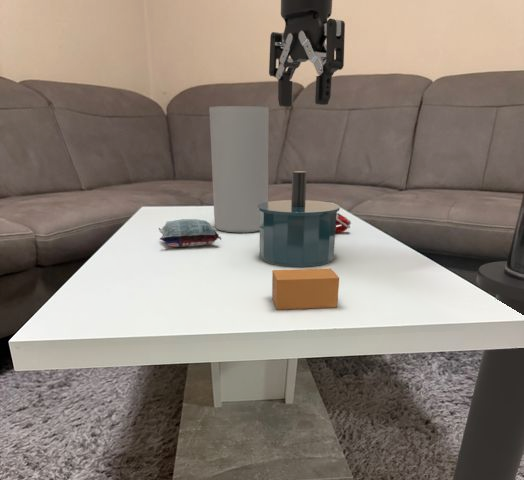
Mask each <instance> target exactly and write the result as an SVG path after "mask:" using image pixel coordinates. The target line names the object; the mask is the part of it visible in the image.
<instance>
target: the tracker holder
mask: <svg viewBox="0 0 524 480" xmlns="http://www.w3.org/2000/svg"><path fill="white" fill-rule="evenodd" d="M351 224H352V222H351V220H350V219H349V218H347V217H346V216H344V215H343V214H341V213H339V212H337V216H336V230H335V234H336V233H337V234H338V233H343V232H345V231H347V230H348V229H350V228H351Z"/></svg>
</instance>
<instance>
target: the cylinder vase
mask: <svg viewBox="0 0 524 480" xmlns="http://www.w3.org/2000/svg"><path fill="white" fill-rule="evenodd" d="M208 111H209V129H210V131H209V132H210V150H211V151H210V153H211V154H210V155H211V173H212V174H211V175H212V176H211V177H212V195H213V197H212V198H213V200H212V201H213V219H214V228H216V230H217V231H221V232H225V233H237V234H238V233H239V234H243V233H244V234H245V233H246V234H247V233H256V232H260V211H259V210H258V209H257V206H258V205H259V204H261V203H264V202H269V152H270V151H269V147H270V146H269V142H270V141H269V139H270V138H269V137H270V135H269V132H270V129H269V127H270V126H269V125H270V123H269V122H270V118H269V117H270V108H269V106H255V105H253V106H252V105H225V106H224V105H223V106H221V105H219V106H209V107H208Z"/></svg>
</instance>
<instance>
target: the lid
mask: <svg viewBox="0 0 524 480" xmlns="http://www.w3.org/2000/svg"><path fill="white" fill-rule="evenodd" d="M307 175H308V172H307V171H303V170H295V171H292V173H291V199H283V200H282V199H281V200H270V201H268V202H264V203H261V204H259V205H258V206H257V209H258V210H259V211H261V212H265V213H270V214H277V215H291V216H312V215H325V214H331V213H335V212H337V213H339V211H340V210H341V207H340V205H339V204H337V203H334V202H328V201H322V200H309V199H307Z"/></svg>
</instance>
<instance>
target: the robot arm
mask: <svg viewBox="0 0 524 480" xmlns="http://www.w3.org/2000/svg"><path fill="white" fill-rule="evenodd" d="M332 13H333V0H280V17H281V18H282V19H283V20H284V22H285V23H284V24H285V25H284V30H283V32H275V31H272V32H271V33H270V40H269V63H268V75H269V76H270V77H273V78H275V79H276V80H277V82H278V83H277V85H278V87H277V101H278V105H279V107H281V108H282V107H283V108H290V107H291V106H292V103H293V80H292V79H293V76H294V74H295V72H296V70H297V69H298V68H299V67H300V66H301V63H305V62H308V61H309V63H312V64H313V67H314V69H315V71H316V73H317V75H315V77H316V79H315V95H314V97H315V98H314V100H315V101H314V102H315V104H316V105H318V106H326V105H328V104H329V102H330V99H331V95H332V93H331V92H332V79H333V78H332V77H333V76H334V75H335V73H336V72H337V71H342V69H343V68H344V65H345V35H346V33H345V32H346V22H345V21H344V20H340V19H336V18H330V17H331V16H332ZM277 60H278V67H277ZM506 261H507V264H506V265H505V269H504V272H505V273H506V274H507V275H509V276H511V277H513V278H516V279H519V280H523V281H524V192H523V193H522V198H521V202H520V207H519V210H518V215H517V219H516V222H515V226H514V231H513V235H512V239H511V243H510V248H509V252H508V255H507V260H506Z"/></svg>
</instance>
